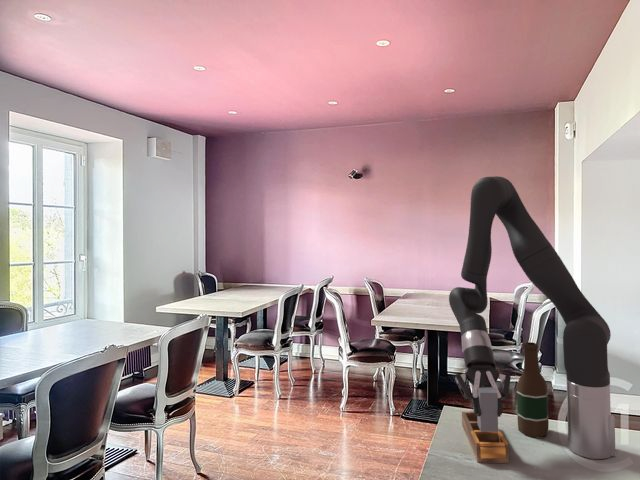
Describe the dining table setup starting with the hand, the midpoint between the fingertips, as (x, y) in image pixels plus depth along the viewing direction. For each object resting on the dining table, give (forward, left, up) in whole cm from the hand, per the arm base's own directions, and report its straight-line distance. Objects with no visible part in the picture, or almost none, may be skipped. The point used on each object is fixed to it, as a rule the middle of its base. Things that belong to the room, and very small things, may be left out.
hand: (489, 415), depth 111 cm
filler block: (0, -2, -4) cm, 5 cm away
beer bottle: (-15, -15, -11) cm, 24 cm away
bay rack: (0, -8, -11) cm, 14 cm away
